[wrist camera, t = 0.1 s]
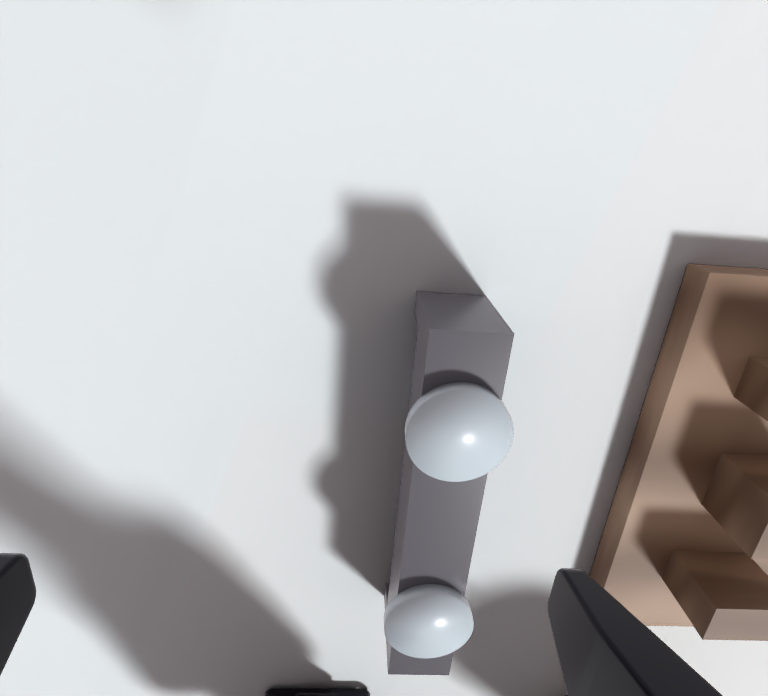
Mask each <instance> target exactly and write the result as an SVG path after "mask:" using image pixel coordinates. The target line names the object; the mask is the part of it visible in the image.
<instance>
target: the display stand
mask: <svg viewBox="0 0 768 696" xmlns="http://www.w3.org/2000/svg"><path fill="white" fill-rule="evenodd" d="M590 576H591V577H592V578H593V579H594V580H595V581H596V582H597V583H599V584H600V585H601V586H602V587H603V588H604V589H605V590H606V591H607V592H608V593H610V594H611V595H612V596H613V597H614V598H615V599H616V600H617V601H618V602H620V603H621V604H622V605H623V606H624V607H625V608H626V609H627V610H628V611H629V612H631V613H632V614H633V615H634V616H635V617H636V618H637V619H638V620H639V621H641V622H642V623H643V624H644V625H648V626H694V627H695V629H696V630H697V632H698V633H699V635H700V636H701V638H702V639H706V640H759V641H768V269H757V268H743V267H729V266H715V265H700V264H688V265H687V268H686V271H685V274H684V277H683V281H682V284H681V287H680V290H679V293H678V296H677V300H676V303H675V306H674V309H673V312H672V315H671V319H670V322H669V325H668V328H667V331H666V334H665V338H664V341H663V344H662V347H661V350H660V353H659V357H658V360H657V363H656V366H655V369H654V372H653V376H652V379H651V382H650V385H649V388H648V391H647V395H646V398H645V401H644V404H643V407H642V410H641V414H640V417H639V420H638V423H637V426H636V429H635V433H634V436H633V439H632V442H631V445H630V448H629V452H628V455H627V458H626V461H625V464H624V467H623V471H622V474H621V477H620V480H619V483H618V486H617V490H616V493H615V496H614V499H613V502H612V505H611V509H610V512H609V515H608V518H607V521H606V524H605V528H604V531H603V534H602V537H601V540H600V543H599V547H598V550H597V553H596V556H595V559H594V562H593V566H592V569H591V572H590Z"/></svg>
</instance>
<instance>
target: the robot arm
mask: <svg viewBox="0 0 768 696" xmlns="http://www.w3.org/2000/svg"><path fill="white" fill-rule="evenodd" d="M35 597H36V587H35V583H34V579H33V575H32V571H31V568H30V564H29V560H28V558H27V557H26V556H25V555H24V554H17V553H0V675H1V673H2V671H3V669H4V667H5V664H6V662H7V660H8V658H9V656H10V654H11V652H12V650H13V647H14V645H15V643H16V641H17V639H18V637H19V635H20V633H21V630H22V628H23V626H24V624H25V622H26V620H27V618H28V616H29V613H30V611H31V609H32V607H33V604H34V601H35ZM548 612H549V618H550V622H551V627H552V631H553V635H554V640H555V644H556V648H557V652H558V657H559V661H560V665H561V670H562V674H563V678H564V682H565V687H566V691H567V695H568V696H722V695H721V694H720V693H719V692H718V691H717V690H716V689H715V688H714V687H712V686H711V685H710V684H709V683H708V682H707V681H706V680H705V679H704V678H702V677H701V676H700V675H699V674H698V673H697V672H696V671H695V670H694V669H693V668H691V667H690V666H689V665H688V664H687V663H686V662H685V661H684V660H683V659H681V658H680V657H679V656H678V655H677V654H676V653H675V652H674V651H673V650H672V649H670V648H669V647H668V646H667V645H666V644H665V643H664V642H663V641H662V640H660V639H659V638H658V637H657V636H656V635H655V634H654V633H653V632H652V631H651V630H649V629H648V628H647V627H646V626H645V625H644V624H643V623H642V622H641V621H639V620H638V619H637V618H636V617H635V616H634V615H633V614H632V613H631V612H629V611H628V610H627V609H626V608H625V607H624V606H623V605H622V604H621V603H620V602H618V601H617V600H616V599H615V598H614V597H613V596H612V595H611V594H610V593H608V592H607V591H606V590H605V589H604V588H603V587H602V586H601V585H600V584H599V583H597V582H596V581H595V580H594V579H593V578H592V577H591V576H590V575H589V574H587V573H586V572H585V571H583V570H581V569H567V568H562V569H559V570H558V572H557V574H556V576H555V580H554V584H553V587H552V591H551V594H550V598H549V602H548ZM265 696H370V693H369V692H368V691H366V690H324V689H270V690H267V691H266V693H265Z"/></svg>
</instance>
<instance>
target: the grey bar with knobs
mask: <svg viewBox="0 0 768 696" xmlns="http://www.w3.org/2000/svg"><path fill="white" fill-rule="evenodd" d="M415 316H416V320H417V323H418V331H417V340H416V349H415V358H414V367H413V376H412V385H411V394H410V403H409V412H408V416H407V419H406V422H405V448H404V457H403V466H402V475H401V484H400V493H399V502H398V511H397V520H396V529H395V538H394V547H393V556H392V565H391V574H390V583H386V585H385V594H384V601H385V613H384V630H385V636H386V643H387V665H388V674H408V675H449V672H450V667H451V662H452V656H453V652H454V651H456V650H457V649H459V648H460V647H462V646H463V645H464V644H465V643H466V642H467V641H468V639H469V638H470V636H471V634H472V632H473V628H474V620H473V616H472V611H471V607H470V604H469V602H468V600H467V599H466V598H465V596H464V594H465V588H466V583H467V578H468V573H469V567H470V562H471V557H472V552H473V546H474V541H475V536H476V531H477V525H478V520H479V515H480V510H481V505H482V499H483V494H484V489H485V484H486V478H487V473H488V472H490V471H491V470H493V469H494V468H495V467H497V466H498V465H499V464H500V463H501V462H502V460H503V459H504V458H505V456H506V455H507V453H508V452H509V449H510V447H511V444H512V441H513V424H512V420H511V417H510V415H509V413H508V411H507V409H506V407H505V406H504V404H503V402H502V401H501V400H502V395H503V389H504V384H505V379H506V374H507V368H508V363H509V358H510V353H511V347H512V342H513V337H514V333H513V332H512V330H511V329H510V328H509V326H508V325H507V324H506V322H505V321H504V320H503V318H502V317H501V315H500V314H499V313H498V311H497V310H496V309H495V307H494V306H493V305H492V303H491V302H490V301H489V299H488V298H487V297H486V296H484V295H468V294H453V293H437V292H422V291H417V296H416V305H415Z"/></svg>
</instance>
